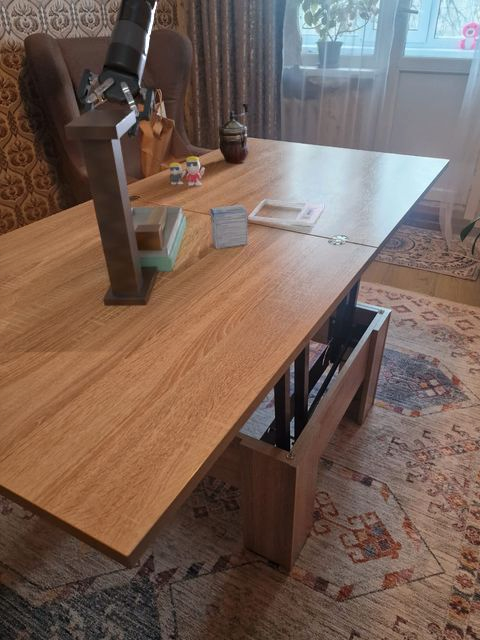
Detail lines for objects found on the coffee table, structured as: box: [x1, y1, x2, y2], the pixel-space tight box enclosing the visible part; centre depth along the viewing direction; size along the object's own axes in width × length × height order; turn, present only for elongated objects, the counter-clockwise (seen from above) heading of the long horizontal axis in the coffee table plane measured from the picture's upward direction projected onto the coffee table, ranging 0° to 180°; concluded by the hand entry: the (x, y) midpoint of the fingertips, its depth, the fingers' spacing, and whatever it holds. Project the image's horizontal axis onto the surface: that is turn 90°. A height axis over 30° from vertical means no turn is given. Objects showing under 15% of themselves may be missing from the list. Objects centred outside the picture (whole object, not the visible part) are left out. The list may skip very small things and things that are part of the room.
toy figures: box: [168, 156, 206, 187], centre depth 154 cm, size 12×4×8 cm, turn 79°
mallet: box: [135, 205, 167, 251], centre depth 110 cm, size 5×24×4 cm, turn 4°
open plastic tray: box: [104, 206, 187, 272], centre depth 114 cm, size 14×27×5 cm, turn 1°
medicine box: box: [209, 204, 249, 250], centre depth 114 cm, size 8×4×9 cm, turn 108°
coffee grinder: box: [218, 103, 250, 164], centre depth 175 cm, size 13×15×18 cm
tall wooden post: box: [63, 109, 159, 307], centre depth 89 cm, size 8×14×32 cm, turn 1°
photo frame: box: [247, 198, 326, 228], centre depth 132 cm, size 15×1×18 cm
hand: (108, 130), depth 97 cm, fingers open, 8 cm apart
